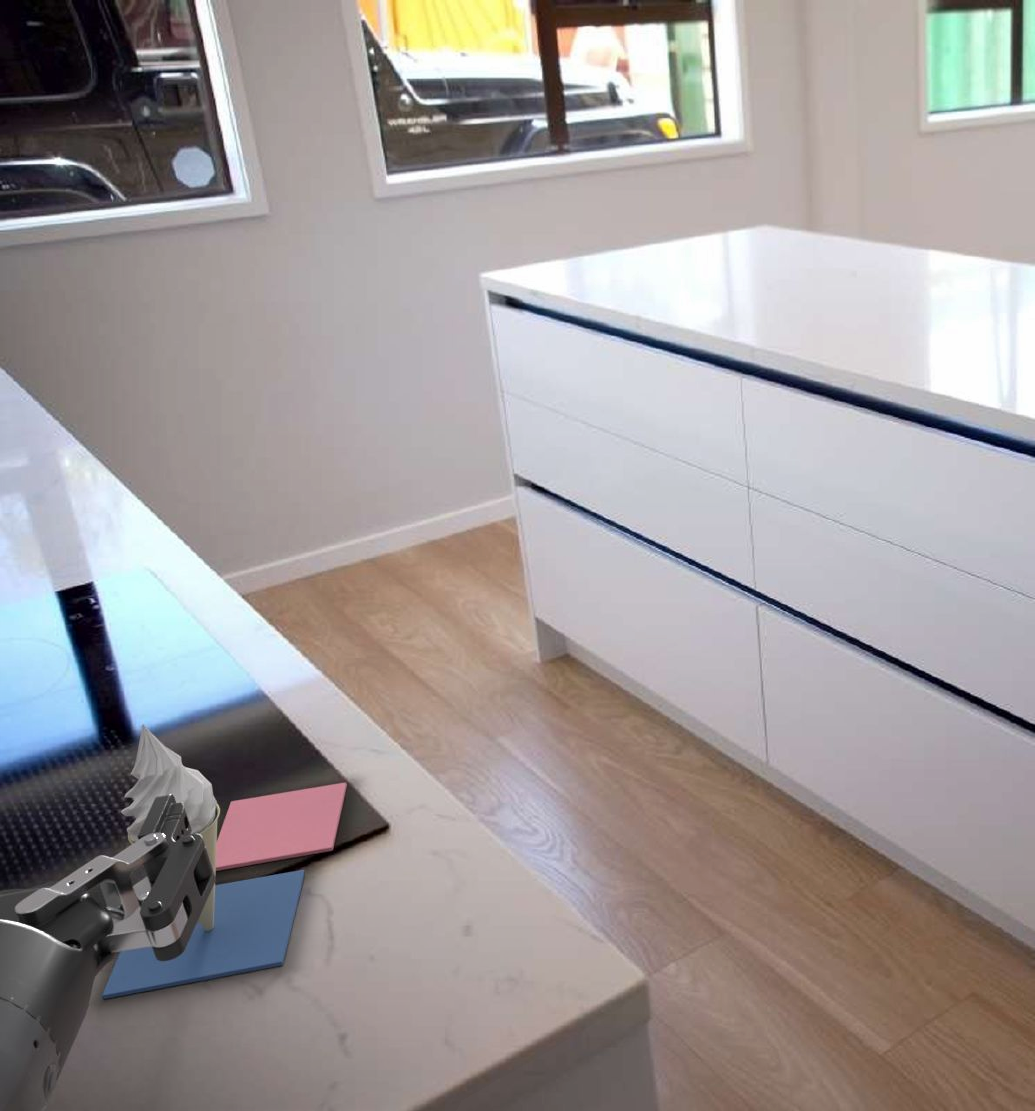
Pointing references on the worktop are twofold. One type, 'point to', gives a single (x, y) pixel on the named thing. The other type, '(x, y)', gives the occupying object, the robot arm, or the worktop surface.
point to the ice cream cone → (169, 776)
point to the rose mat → (280, 826)
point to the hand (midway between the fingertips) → (78, 825)
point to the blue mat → (221, 938)
